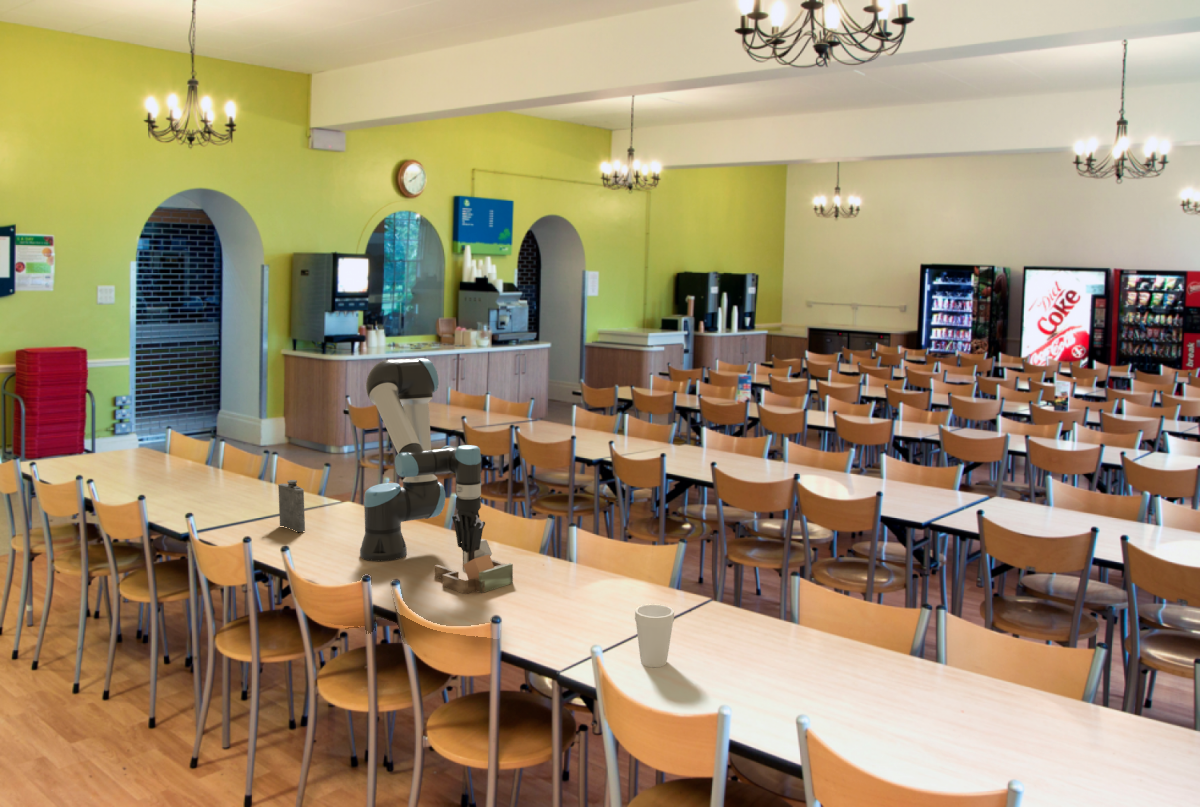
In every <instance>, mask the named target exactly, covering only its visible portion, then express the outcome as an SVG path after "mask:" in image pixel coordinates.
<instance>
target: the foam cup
mask: <svg viewBox="0 0 1200 807" xmlns="http://www.w3.org/2000/svg"><path fill="white" fill-rule="evenodd" d="M634 620H635V626H636V633H637V642H638V651H639V659H640V664H641V665H643V666H645V667H648V668H660V667H661V668H662V667H664V666H665V665H666V664H667V663H668V657H669V651H670V650H669V649H670V644H671V637H672V631H673V624H674V622H675V611H674V609H673V608H672V607H670V606H668V605H666V604H665V605H664V604H659V603H651V604H650V603H648V604H642V605H639V606H637V607H636V608H635V609H634Z"/></svg>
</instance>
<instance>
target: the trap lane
mask: <svg viewBox="0 0 1200 807" xmlns="http://www.w3.org/2000/svg"><path fill="white" fill-rule="evenodd" d="M491 560H492V563H493V566H494V568H492V569H489V570H485V571H482V572H479V579H478V578H473V579H466V580H465V579H461V578H459V576H460V575H459V571H457V570H454V569H453V568H448V567H446V566H443V565H439V564H436V565H434V578H439V579H442V581H441V582H442V587H444V588H447V589H449V590H453V591H455V592H458V593H461V594H463V595H466V594H469V593H473V592H476V593H477V592H478V593H480V594H483V593H486V592H489V591H492V590H496V589H499V588H501V587H505V586H508V585H511V584H513V582H514V581H513V580H514V578H513V576H514V575H513V574H514V573H513V570H514V569H513V568H514V565H513V563H511V562H509V563H504V562H501V561H498V560H495V559H492V558H491ZM463 565H464V560H463V559H462V569H463V570H464V566H463Z"/></svg>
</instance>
